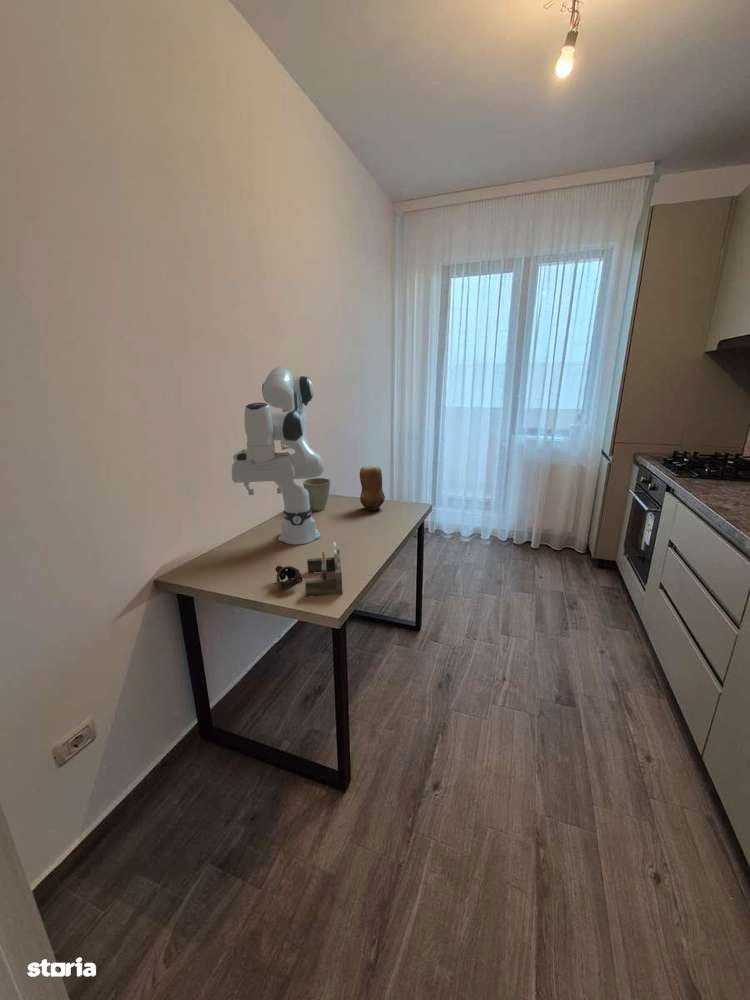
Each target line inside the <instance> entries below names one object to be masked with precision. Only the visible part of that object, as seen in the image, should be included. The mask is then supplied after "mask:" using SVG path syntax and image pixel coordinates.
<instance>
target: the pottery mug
mask: <svg viewBox="0 0 750 1000" xmlns="http://www.w3.org/2000/svg"><path fill="white" fill-rule="evenodd" d="M275 572H276V573H277V574H276V583H277V589H278V590H279V591H282V590H288V589H292V588H293V587H294V586H295V587H296V585H298V583H299V584H300V583H301V582H303V574H302V572H300V570H299V568H296V567H294V566H292V565H286V566H281V565H277V566H276V567H275ZM286 577H287V580H288V581H283V580H285V579H286Z"/></svg>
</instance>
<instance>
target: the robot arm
mask: <svg viewBox="0 0 750 1000" xmlns="http://www.w3.org/2000/svg"><path fill="white" fill-rule="evenodd" d="M310 378H311V377H309V376H305V375H300V376H293V374H292V371H290V370H289V369H288V368H286V367H282V366H277V367H275V368H273V369H272V370H271V371H270V372H269V373H268V374H267V377H266V378H265V381H264V382H263V384H262V386H261V393H262V397H263V400H264V401H265V402H253V403H248V404H247V405H246V406H245V407H244V432H245V434H246V440H247V441H246V449H242V450H240V451H237V452H236V453H235V454H233V455H232V456H233V461H234V462H233V463H232V465H231V480H232V482H234V483H235V484H236V483H237V484H239V483H243V486H244V487H245V489H246V490H247V491H248V496H254V494H255V492H254V488H251V487H250V483H255V482H256V483H257V482H258V483H259V482H261V483H262V482H274V484H276V486H277V488H276V491H277V492H276V494H280V495H281V494H282V499H283V500H282V501H283V507H284V510H283V517H284V520H283V521H282V522H281V534H280V536H279V537H278V541H280V542H284V543H286V544H288V545H303V544H308V543H311V542H313V541H315V540H318V539H320V538H321V534H320V532H319V530H318V529H317V526H316V521H315V519H314V518H313V517H312V509H311V507H310V504H309V493H308V491H307V490H306V489H305V488H304V486H301V485H299V484H297V483H296V482H295V480H307V479H312V478H319V477H320V476H321V475H322V474H323V472H324V469H325V462H324V460H323V458H322V456H321V455H319V454H318V453H317V452H315V451H314V450H313V449H312V447H311V446H310V444H309V442H308V437H307V436H308V435H307V419H306V412H305V407H306V406H308V403H310V402H311V401H312V399H313V397H314V392H315V387H314V384H313V382H312V380H311V379H310ZM270 406H271V407H273V408H276V409H281V411H273V412H271V408H270ZM304 406H305V407H304ZM275 441H281V443H282V444H283V445H284V446H285V447H287V448H289V449H291V450H292V451H295V452H294V453H290V452H288V451H287V452H276V447H275Z"/></svg>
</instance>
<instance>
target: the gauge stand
mask: <svg viewBox="0 0 750 1000" xmlns="http://www.w3.org/2000/svg"><path fill="white" fill-rule="evenodd" d="M340 552H341V551H340V549H339V548H337V542H336V540H333V556H331V557H326V565H327V573H332V571H335V572H334V575H335V577H334V578H327V579H322V578H321V579H312V580H311V579H310V580H305V583H304V584H305V585H304V586H305V597H306V598H311V597H310V596H314V597H325V596H326V597H327V596H336V595H343V593H344V592H343V577H342V574H343V573H342V564H341V563H342V562H341V554H340ZM306 563H307V565H306V566H307V573H309V574H315V573H314V572H322V557H317V558H307V560H306Z"/></svg>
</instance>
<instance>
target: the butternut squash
mask: <svg viewBox="0 0 750 1000" xmlns="http://www.w3.org/2000/svg"><path fill="white" fill-rule="evenodd" d="M359 481H360V485H361V492H360V497H359V500H360V503H361V505H362V506H363V508H364V509H366V510H369V511H377V510H379V508H380V507H381V506H382V505H383V504H384V502H385V499H386V496H385V493H384V491H383V473H382V469H381V467H380V466H379V465H377V464H370V465H364V466H362V467H361V468H360V469H359Z"/></svg>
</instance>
